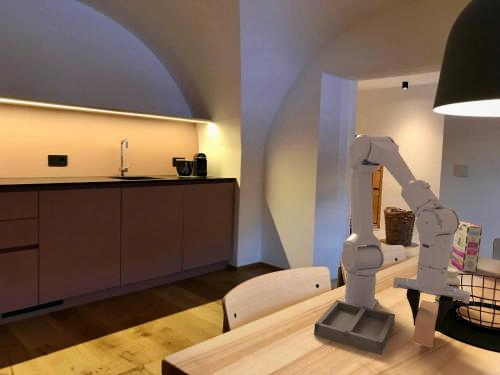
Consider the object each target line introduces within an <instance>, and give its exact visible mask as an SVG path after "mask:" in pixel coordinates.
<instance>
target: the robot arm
mask: <svg viewBox="0 0 500 375" xmlns="http://www.w3.org/2000/svg"><path fill="white" fill-rule="evenodd" d="M348 149H349V188H350V189H349V190H350V195H349V196H350V220H351V224H350V225H351V234H350V235H349V236H348V237H347V238H346V239H345V240H344V241H343V242H342V245H343V246H342V252H341V256H340V259H341V263H342V264H341V265H342V266H343V268H344V270H345V271H346V281H345V293H344V297H343V299H342V300H341V301H343V302H347V303H351V304H355V305H359V306H363V307H367V308H371V309H375V307H376V305H377V303H378V302H379V299H378V298H376V297H375V295H376V285H377V276H376V275H377V273H379V269H381V268H382V267H383V265H384V262H385V256H384V252H383V249H382V245H381V244H382V241H381V240H380V239H379V238H378V237H377V236H376V235H375V234H374V216H373V215H374V214H373V213H374V212H373V189H372V188H373V187H372V186H373V183H372V182H373V181H372V174H373V173H374V172H375V170H376V169H378V168H380V167H381V166H384V167H385V169H386V170H387V172H388V173H389V174H390V175H391V177H392V178H394V179H395V181H396V182H397V183H398V184H399V186H400V187H401V190H400V196H401V198H402V199H403V200H404V202H405V203H406V205H407V206H408V207H409V209H410V211H411V212H412V213H413V215H414V216H415V218H416V219H415V226H416V229H417V231H418V240H419V251H418V259H417V260H418V261H417V270H416V278H415V279H414V278H405V277H398V276H395V277H393V278H394V279H393V284H392V288H393V289H403V290H406V293H405V294H406V295H405V296H406V299H407V301H408V304H409V307H410V309H411V313H412V314H411V315H412V320H413V321H412V322H413V323H412V324H413V326H414V327H415V320H416V316H417V313H418V310H419V307H420V302H421V301H420V299H421V293H422V294H427V295H430V296H440V298H439V306H438V316H437V320H436V325H435V332H439V330H440V327H441V324H442V321H443V320H444V318H445V316H446V315H447V313H448V312H449V310H450V309H452V308H451V306H452V304H453V299H454V300H458V301H460V302H462V303H463V304H470V299H471V291H470V290H469V291H467V290H464V289H460V288H459V289H457V288H454V287H450V286H447V285H446V281H447V272H448V267H449V263H450V255H451V254H450V253H451V243H452V237H453V236H452V235H454V234H455V232H456V231H457V230H458V228H459V221H460V217H459V215H458V214H457V211H456V210H455V209H453V208H451V207H448V206H445V204H444V203H443V201H442V200H439V199H438V197H437V196H436V195H435V193H434V191H433V190H432V189H431V188H432V186H431V184H430V183H429V182H426V181H425V180H422V179H417V178H416V177H415V176H414V174H413V172H412V171H411V169H410V168H409V166H408V165H407V162H406V161H405V160H404V158H403V157H402V155H401V154H400V152H399V150H400V146H399V144H397V143H396V141H395V140H394V138H392V137H391V136H388V135H386V136H381V135H380V136H378V135H370V134H369V135H367V134H363V133H360V134H357V135H356V136H355V137H354V138H353V140H352V141H351V142H350V144H349V148H348Z"/></svg>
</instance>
